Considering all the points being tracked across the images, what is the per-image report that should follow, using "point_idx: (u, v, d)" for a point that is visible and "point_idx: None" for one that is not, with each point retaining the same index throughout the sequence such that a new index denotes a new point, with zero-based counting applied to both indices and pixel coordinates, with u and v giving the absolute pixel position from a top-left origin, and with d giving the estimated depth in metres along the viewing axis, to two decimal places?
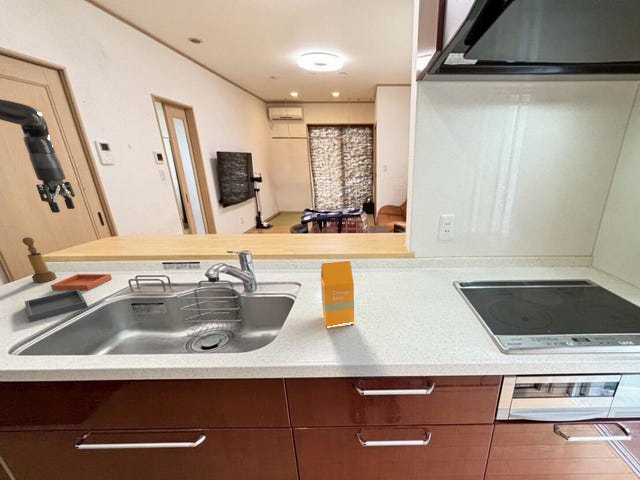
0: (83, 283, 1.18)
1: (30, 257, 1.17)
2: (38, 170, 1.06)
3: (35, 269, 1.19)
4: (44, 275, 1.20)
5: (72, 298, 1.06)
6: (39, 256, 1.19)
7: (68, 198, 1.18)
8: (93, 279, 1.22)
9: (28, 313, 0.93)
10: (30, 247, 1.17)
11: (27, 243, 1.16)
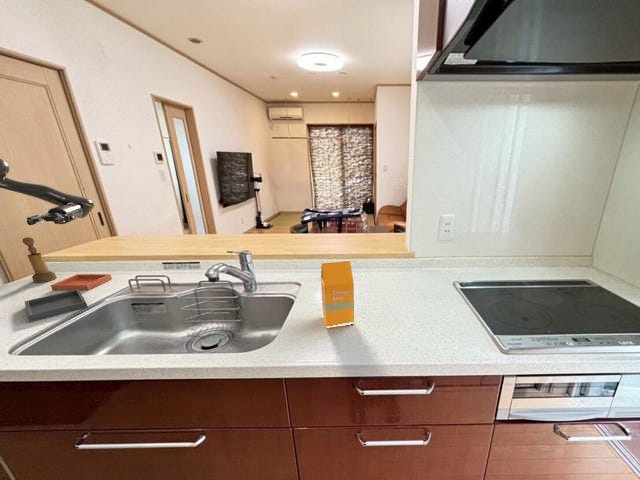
0: (83, 283, 1.18)
1: (30, 257, 1.17)
2: (71, 212, 1.37)
3: (35, 269, 1.19)
4: (44, 275, 1.20)
5: (72, 298, 1.06)
6: (39, 256, 1.19)
7: (36, 221, 1.26)
8: (93, 279, 1.22)
9: (28, 313, 0.93)
10: (30, 247, 1.17)
11: (27, 243, 1.16)
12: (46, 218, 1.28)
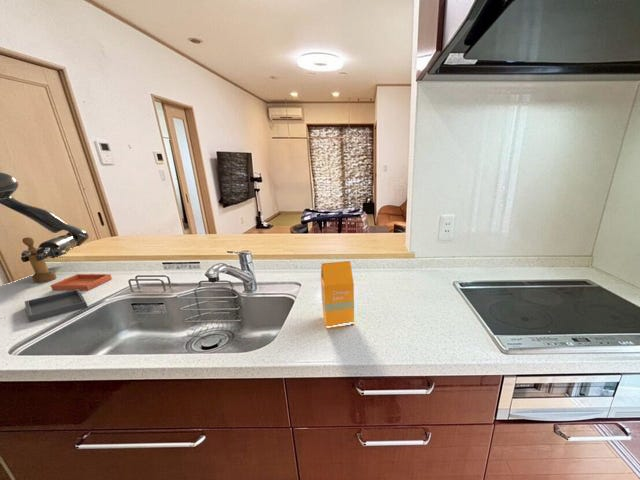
0: (83, 283, 1.18)
1: (30, 257, 1.17)
2: (64, 245, 1.31)
3: (35, 269, 1.19)
4: (44, 275, 1.20)
5: (72, 298, 1.06)
6: None
7: None
8: (93, 279, 1.22)
9: (28, 313, 0.93)
10: (30, 247, 1.17)
11: (27, 243, 1.16)
12: None
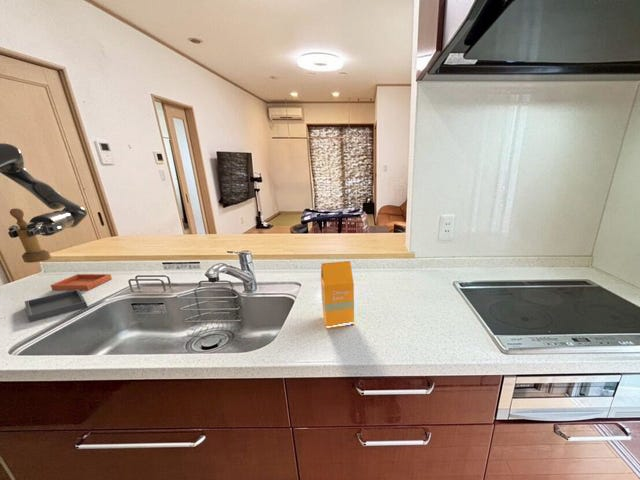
0: (83, 283, 1.18)
1: (19, 232, 0.99)
2: (59, 221, 1.13)
3: (25, 247, 1.01)
4: (36, 254, 1.02)
5: (72, 298, 1.06)
6: None
7: None
8: (93, 279, 1.22)
9: (28, 313, 0.93)
10: (19, 220, 0.99)
11: (15, 215, 0.97)
12: None
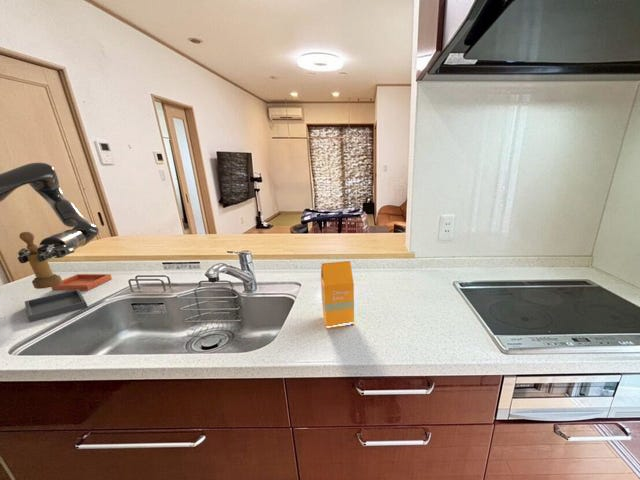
0: (83, 283, 1.18)
1: (29, 257, 0.93)
2: (70, 242, 1.07)
3: (36, 272, 0.95)
4: (47, 279, 0.96)
5: (72, 298, 1.06)
6: None
7: None
8: (93, 279, 1.22)
9: (28, 313, 0.93)
10: (29, 244, 0.92)
11: (25, 239, 0.91)
12: None
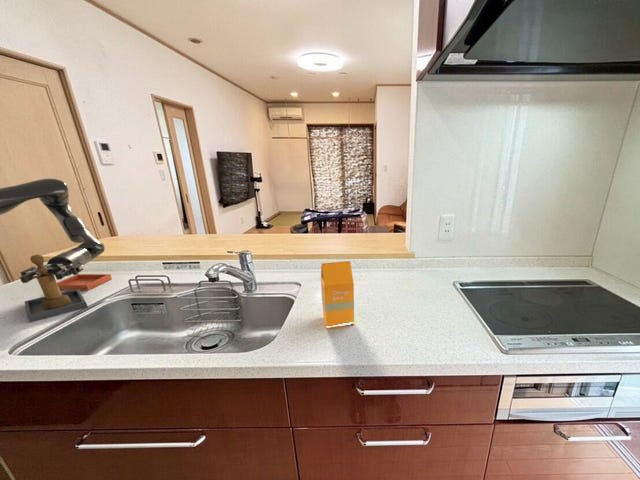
0: (83, 283, 1.18)
1: (40, 279, 0.95)
2: (77, 260, 1.09)
3: (45, 293, 0.97)
4: (56, 300, 0.99)
5: (72, 298, 1.06)
6: (50, 277, 0.97)
7: (32, 276, 0.98)
8: (93, 279, 1.22)
9: (28, 313, 0.93)
10: (40, 267, 0.95)
11: (36, 262, 0.94)
12: None
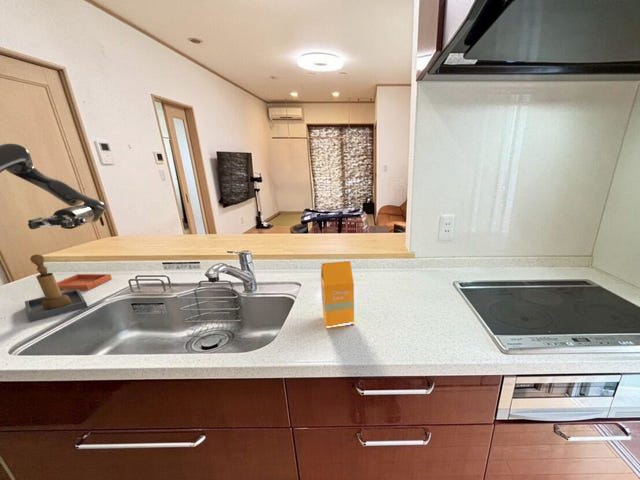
0: (83, 283, 1.18)
1: (40, 279, 0.95)
2: (81, 215, 1.15)
3: (45, 293, 0.97)
4: (56, 300, 0.99)
5: (72, 298, 1.06)
6: (50, 277, 0.97)
7: (39, 225, 1.04)
8: (93, 279, 1.22)
9: (28, 313, 0.93)
10: (40, 266, 0.95)
11: (36, 262, 0.94)
12: (52, 221, 1.06)
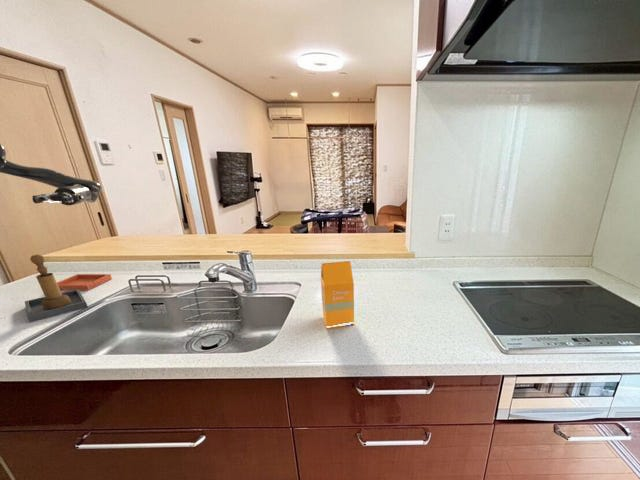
0: (83, 283, 1.18)
1: (40, 279, 0.95)
2: (79, 193, 1.28)
3: (45, 293, 0.97)
4: (56, 300, 0.99)
5: (72, 298, 1.06)
6: (50, 277, 0.97)
7: (42, 200, 1.17)
8: (93, 279, 1.22)
9: (28, 313, 0.93)
10: (40, 266, 0.95)
11: (36, 262, 0.94)
12: (53, 197, 1.19)
